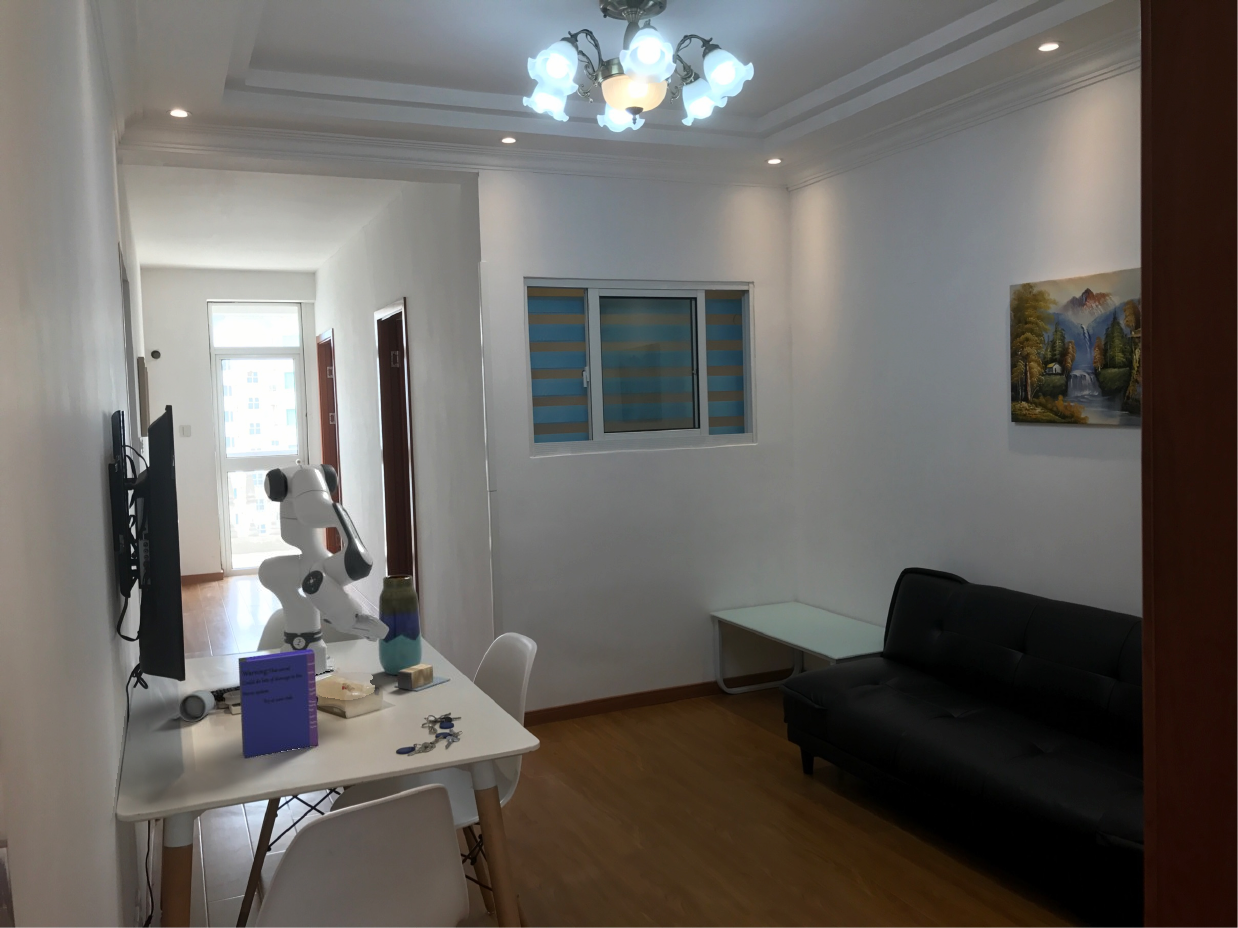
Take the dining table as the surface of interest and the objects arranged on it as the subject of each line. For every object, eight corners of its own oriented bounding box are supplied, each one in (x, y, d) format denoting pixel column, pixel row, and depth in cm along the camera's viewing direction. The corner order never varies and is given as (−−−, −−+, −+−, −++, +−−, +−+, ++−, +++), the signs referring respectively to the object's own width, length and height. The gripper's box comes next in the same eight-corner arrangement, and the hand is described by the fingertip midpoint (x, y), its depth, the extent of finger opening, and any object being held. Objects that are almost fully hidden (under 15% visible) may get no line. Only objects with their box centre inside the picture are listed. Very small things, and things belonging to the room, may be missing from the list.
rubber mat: (417, 691, 288) (417, 689, 288) (394, 686, 294) (394, 685, 294) (450, 680, 300) (450, 678, 300) (427, 675, 305) (427, 674, 305)
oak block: (408, 673, 289) (432, 665, 297) (397, 671, 291) (421, 663, 300) (409, 689, 289) (433, 681, 297) (397, 687, 292) (422, 679, 300)
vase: (419, 664, 320) (416, 572, 319) (426, 674, 307) (422, 578, 306) (377, 669, 315) (373, 575, 314) (382, 679, 302) (378, 581, 301)
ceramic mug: (217, 712, 272) (215, 685, 272) (206, 721, 264) (205, 693, 264) (178, 714, 272) (176, 688, 271) (167, 723, 263) (165, 696, 263)
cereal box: (315, 740, 246) (311, 648, 245) (318, 745, 241) (314, 651, 240) (242, 752, 238) (238, 657, 237) (244, 758, 233) (240, 661, 232)
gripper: (376, 607, 268) (403, 634, 277) (329, 600, 280) (356, 626, 288) (364, 626, 265) (392, 653, 273) (317, 618, 276) (345, 644, 285)
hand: (373, 639), depth 281 cm, fingers closed
